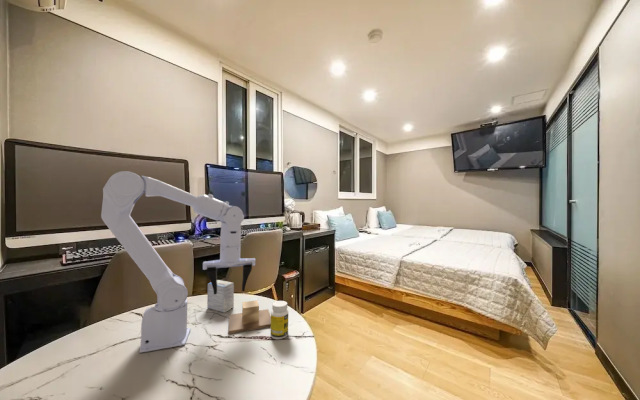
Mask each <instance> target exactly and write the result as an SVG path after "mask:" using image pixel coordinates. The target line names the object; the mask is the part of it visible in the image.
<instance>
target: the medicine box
mask: <svg viewBox="0 0 640 400" xmlns="http://www.w3.org/2000/svg"><path fill="white" fill-rule="evenodd" d="M234 290H235V284H234V282H231V281H226V280H222V279H217V294H214V290H213V286H212V283H211V281H210V282H209V283H207V301H206V302H207V307H206V308H207V309H210V310H213V311H217V312H221V313H227V312H229V311H230V310H232V309H234V306H235V305H234V304H235V303H234V301H235V299H234V297H235V296H234V295H235V291H234ZM231 308H232V309H231Z"/></svg>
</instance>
